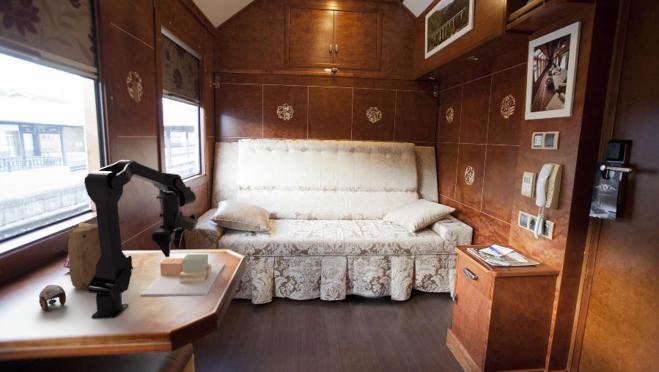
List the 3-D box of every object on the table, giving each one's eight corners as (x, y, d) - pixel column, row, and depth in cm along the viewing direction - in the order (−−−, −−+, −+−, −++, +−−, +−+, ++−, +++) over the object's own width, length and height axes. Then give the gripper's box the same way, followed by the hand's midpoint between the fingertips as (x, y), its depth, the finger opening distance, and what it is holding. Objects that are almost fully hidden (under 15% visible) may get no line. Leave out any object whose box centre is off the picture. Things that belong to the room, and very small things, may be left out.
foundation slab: (204, 282, 109) (203, 274, 108) (179, 283, 108) (179, 274, 108) (211, 271, 118) (211, 263, 117) (188, 272, 117) (188, 264, 116)
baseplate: (207, 294, 102) (207, 293, 102) (140, 296, 100) (140, 294, 100) (224, 265, 125) (224, 263, 125) (171, 265, 123) (171, 264, 123)
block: (82, 293, 100) (76, 231, 97) (68, 288, 104) (63, 228, 101) (117, 280, 110) (113, 223, 107) (104, 275, 113) (99, 220, 110)
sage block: (204, 271, 110) (203, 259, 110) (182, 272, 109) (182, 259, 109) (208, 266, 115) (207, 254, 114) (187, 266, 114) (187, 254, 114)
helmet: (61, 305, 96) (53, 283, 96) (75, 300, 92) (67, 277, 92) (37, 315, 90) (29, 292, 90) (51, 310, 87) (42, 286, 87)
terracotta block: (181, 275, 114) (180, 263, 113) (160, 275, 113) (160, 263, 112) (186, 269, 119) (185, 258, 118) (166, 270, 118) (166, 258, 117)
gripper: (185, 216, 104) (187, 262, 106) (202, 204, 122) (203, 243, 125) (149, 215, 103) (151, 262, 105) (172, 204, 121) (173, 243, 123)
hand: (172, 252), depth 115 cm, fingers open, 9 cm apart
